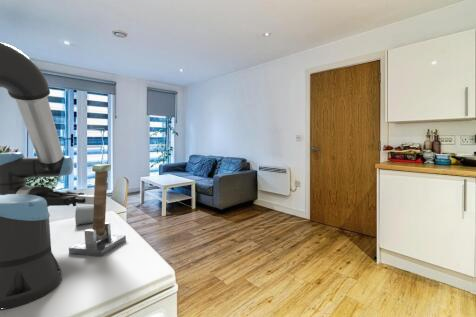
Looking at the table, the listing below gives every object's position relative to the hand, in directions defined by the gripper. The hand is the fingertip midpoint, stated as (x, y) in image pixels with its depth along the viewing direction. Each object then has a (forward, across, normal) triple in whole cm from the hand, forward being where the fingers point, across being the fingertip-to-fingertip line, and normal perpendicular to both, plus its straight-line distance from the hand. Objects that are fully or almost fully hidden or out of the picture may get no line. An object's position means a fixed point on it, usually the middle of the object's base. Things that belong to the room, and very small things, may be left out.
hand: (95, 200), depth 83 cm
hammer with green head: (+1, +1, -14) cm, 14 cm away
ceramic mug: (-23, -22, -17) cm, 36 cm away
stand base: (+1, +1, -16) cm, 16 cm away
